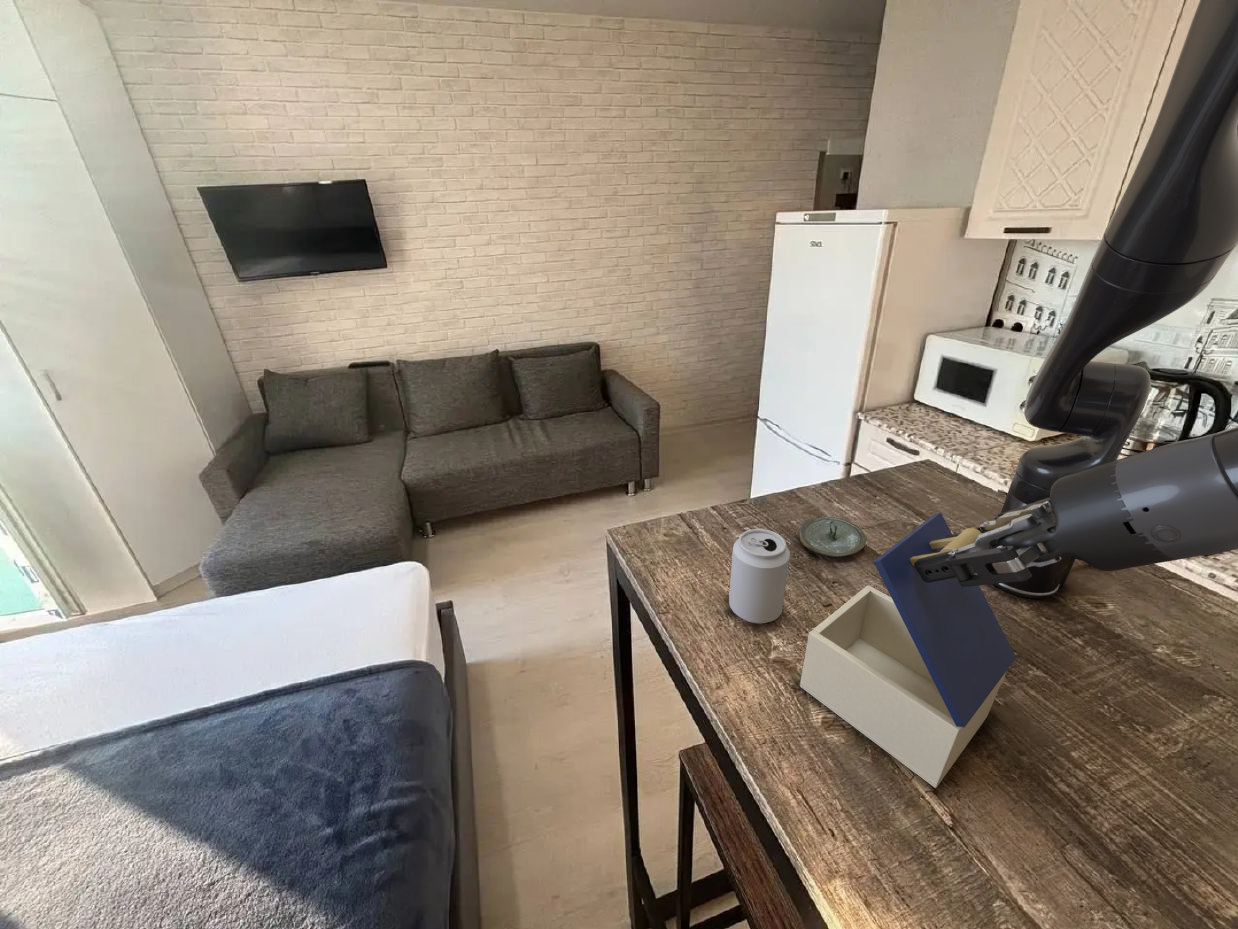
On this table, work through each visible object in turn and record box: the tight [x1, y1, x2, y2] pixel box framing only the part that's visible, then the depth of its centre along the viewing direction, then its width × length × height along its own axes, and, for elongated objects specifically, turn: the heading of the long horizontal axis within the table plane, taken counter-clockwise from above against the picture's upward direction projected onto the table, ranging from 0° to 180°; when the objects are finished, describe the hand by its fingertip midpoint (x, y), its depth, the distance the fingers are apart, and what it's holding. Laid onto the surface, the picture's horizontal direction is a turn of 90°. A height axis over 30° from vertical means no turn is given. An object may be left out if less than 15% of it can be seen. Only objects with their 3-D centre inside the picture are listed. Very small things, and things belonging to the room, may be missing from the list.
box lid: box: [873, 512, 1018, 727], centre depth 48 cm, size 16×13×6 cm
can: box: [728, 528, 791, 624], centre depth 71 cm, size 8×8×12 cm
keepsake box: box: [799, 584, 1008, 789], centre depth 57 cm, size 16×13×9 cm
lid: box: [798, 516, 867, 558], centre depth 86 cm, size 11×10×5 cm
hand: (934, 559), depth 50 cm, fingers closed on box lid, 5 cm apart
